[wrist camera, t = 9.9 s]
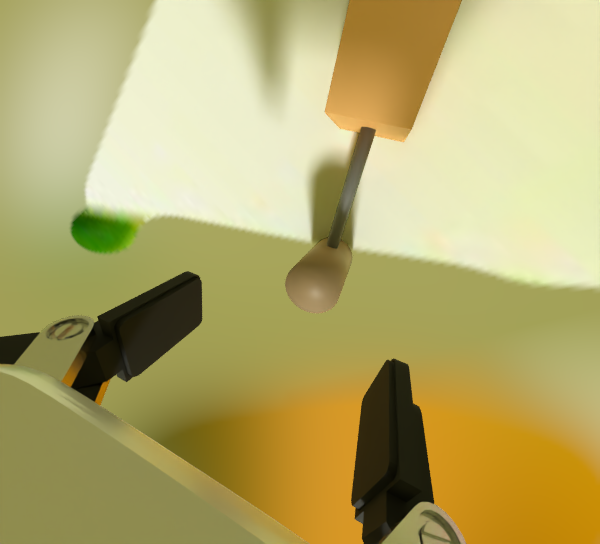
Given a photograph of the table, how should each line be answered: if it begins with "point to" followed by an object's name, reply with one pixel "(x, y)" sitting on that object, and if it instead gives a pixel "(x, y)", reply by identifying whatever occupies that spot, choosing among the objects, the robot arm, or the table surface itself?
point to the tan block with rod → (371, 113)
